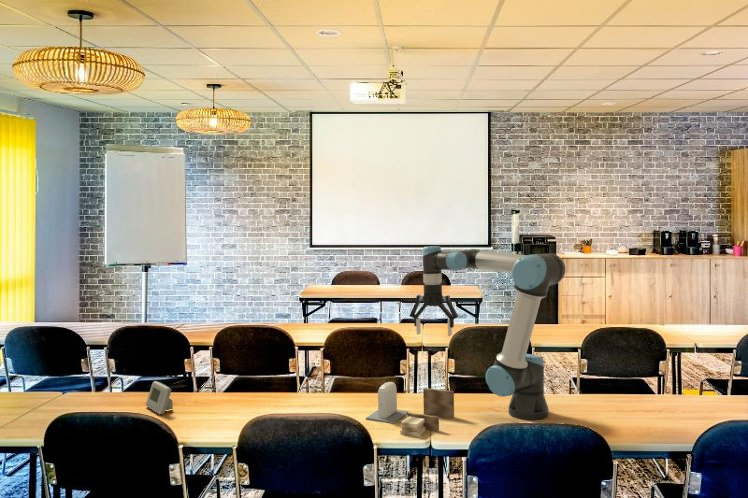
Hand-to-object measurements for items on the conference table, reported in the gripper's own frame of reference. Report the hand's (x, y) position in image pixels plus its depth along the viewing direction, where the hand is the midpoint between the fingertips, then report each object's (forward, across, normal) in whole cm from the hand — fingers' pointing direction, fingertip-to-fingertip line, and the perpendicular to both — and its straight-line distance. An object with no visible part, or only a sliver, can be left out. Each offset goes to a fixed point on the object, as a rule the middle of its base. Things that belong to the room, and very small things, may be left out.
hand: (434, 334), depth 253 cm
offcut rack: (+28, -6, +24) cm, 38 cm away
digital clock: (+27, +103, +49) cm, 118 cm away
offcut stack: (+29, -3, +37) cm, 47 cm away
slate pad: (+28, +12, +23) cm, 39 cm away
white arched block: (+28, +12, +23) cm, 38 cm away
